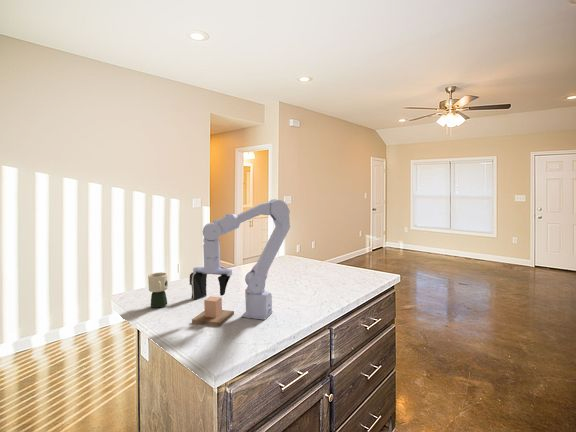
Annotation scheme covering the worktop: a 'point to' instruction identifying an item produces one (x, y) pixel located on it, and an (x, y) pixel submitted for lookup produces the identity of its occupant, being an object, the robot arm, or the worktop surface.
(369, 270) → the worktop surface
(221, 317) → the walnut board
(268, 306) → the robot arm
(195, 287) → the battery charger
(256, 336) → the worktop surface
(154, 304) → the character mug
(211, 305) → the terracotta block
